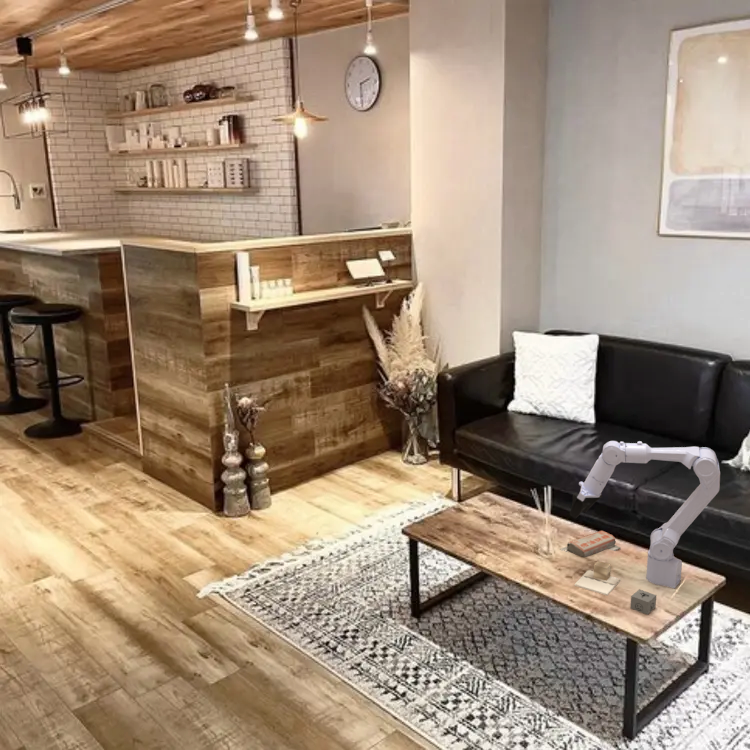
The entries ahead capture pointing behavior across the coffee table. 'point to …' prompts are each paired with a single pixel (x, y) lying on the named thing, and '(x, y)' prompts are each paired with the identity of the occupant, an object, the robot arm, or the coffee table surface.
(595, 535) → the packaged product
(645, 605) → the dice cube
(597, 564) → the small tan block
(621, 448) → the robot arm
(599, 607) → the coffee table surface
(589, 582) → the board
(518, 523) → the coffee table surface
